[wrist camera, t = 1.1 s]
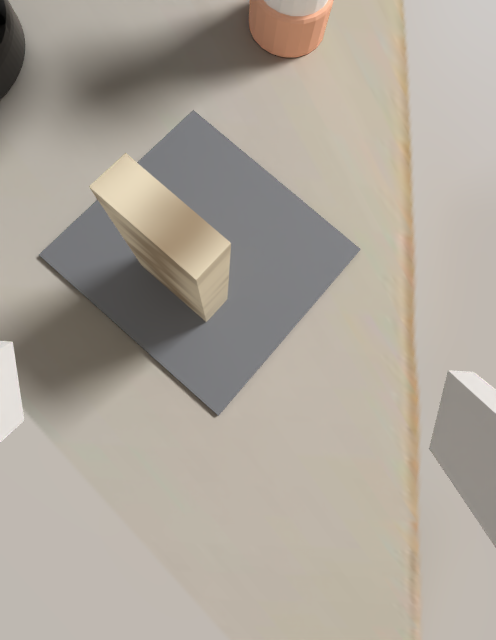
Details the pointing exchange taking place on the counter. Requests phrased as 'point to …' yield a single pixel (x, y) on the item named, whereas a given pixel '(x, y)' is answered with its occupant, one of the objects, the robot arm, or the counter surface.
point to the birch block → (166, 236)
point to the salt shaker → (289, 25)
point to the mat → (244, 273)
